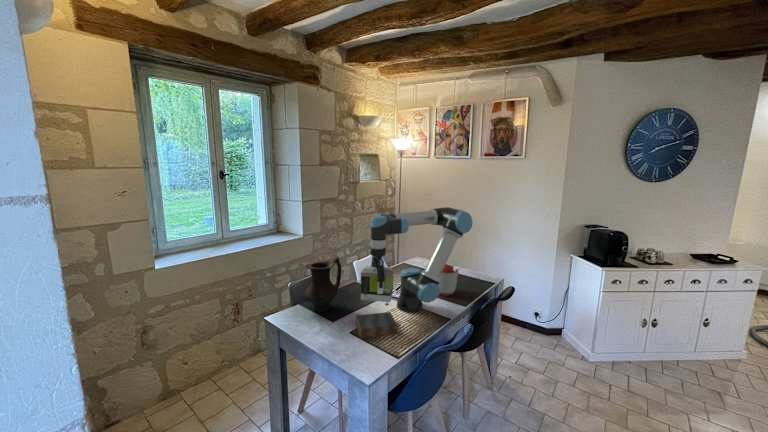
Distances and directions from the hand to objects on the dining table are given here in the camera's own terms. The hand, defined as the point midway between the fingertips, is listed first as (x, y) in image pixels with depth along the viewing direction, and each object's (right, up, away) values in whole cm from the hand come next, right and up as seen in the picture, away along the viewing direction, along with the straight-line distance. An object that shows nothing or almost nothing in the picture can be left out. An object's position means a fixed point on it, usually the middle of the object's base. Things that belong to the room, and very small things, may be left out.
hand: (377, 288), depth 161 cm
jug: (-32, -17, +24) cm, 43 cm away
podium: (-1, -22, +4) cm, 22 cm away
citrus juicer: (+44, -14, +50) cm, 68 cm away
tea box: (0, -5, +1) cm, 5 cm away
